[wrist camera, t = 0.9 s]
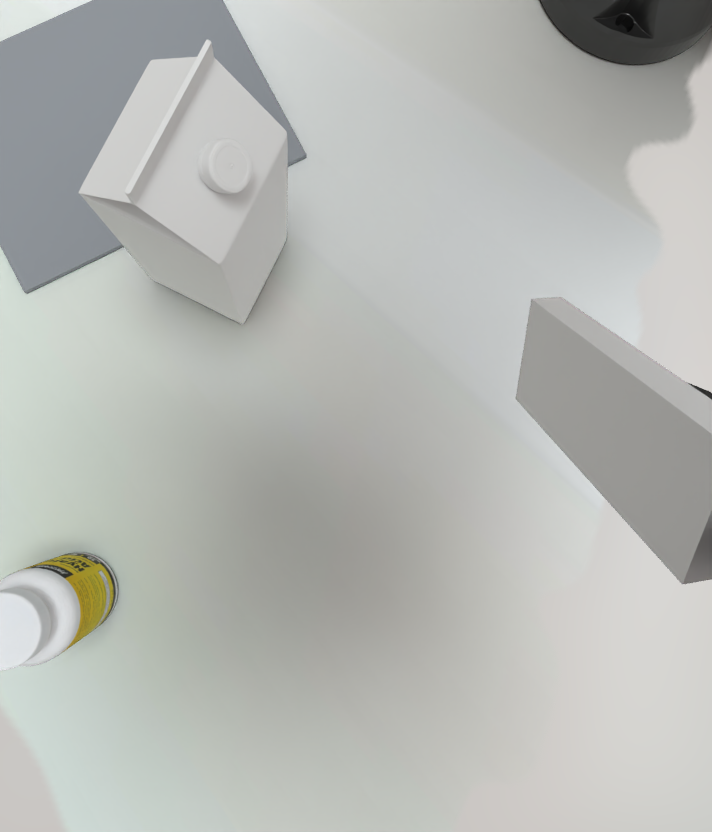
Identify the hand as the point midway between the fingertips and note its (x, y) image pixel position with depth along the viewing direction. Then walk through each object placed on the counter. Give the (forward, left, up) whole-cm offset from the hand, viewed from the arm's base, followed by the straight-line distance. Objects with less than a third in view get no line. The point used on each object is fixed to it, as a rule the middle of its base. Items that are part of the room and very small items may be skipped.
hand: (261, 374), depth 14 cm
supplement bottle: (+19, +3, -29) cm, 34 cm away
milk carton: (0, -13, -29) cm, 32 cm away
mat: (+2, -26, -29) cm, 39 cm away
